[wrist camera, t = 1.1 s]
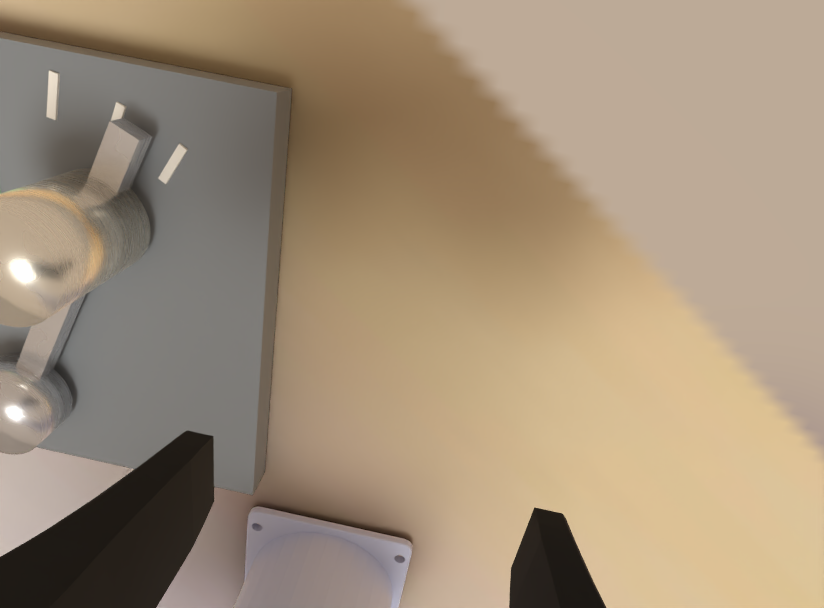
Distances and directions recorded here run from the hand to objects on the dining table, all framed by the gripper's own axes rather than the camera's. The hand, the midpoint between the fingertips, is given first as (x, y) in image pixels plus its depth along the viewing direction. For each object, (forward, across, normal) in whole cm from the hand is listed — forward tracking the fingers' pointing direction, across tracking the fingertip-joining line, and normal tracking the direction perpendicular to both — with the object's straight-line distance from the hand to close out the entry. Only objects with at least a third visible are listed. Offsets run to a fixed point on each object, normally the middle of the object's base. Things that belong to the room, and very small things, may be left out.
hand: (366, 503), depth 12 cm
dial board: (+10, +15, +2) cm, 18 cm away
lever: (+8, +13, +2) cm, 15 cm away
